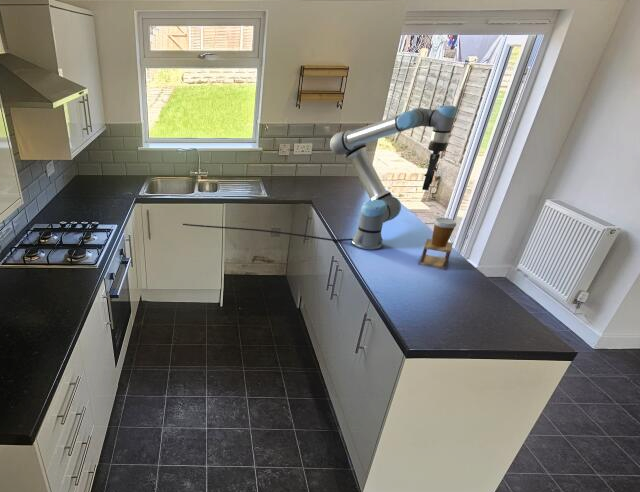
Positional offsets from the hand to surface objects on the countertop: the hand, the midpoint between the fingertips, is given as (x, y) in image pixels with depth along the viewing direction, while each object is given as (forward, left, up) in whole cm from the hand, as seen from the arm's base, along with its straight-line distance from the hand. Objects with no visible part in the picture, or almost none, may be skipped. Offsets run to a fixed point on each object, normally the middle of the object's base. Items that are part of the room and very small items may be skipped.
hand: (426, 186), depth 215 cm
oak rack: (+4, -19, -33) cm, 38 cm away
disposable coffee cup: (+4, -19, -23) cm, 30 cm away
